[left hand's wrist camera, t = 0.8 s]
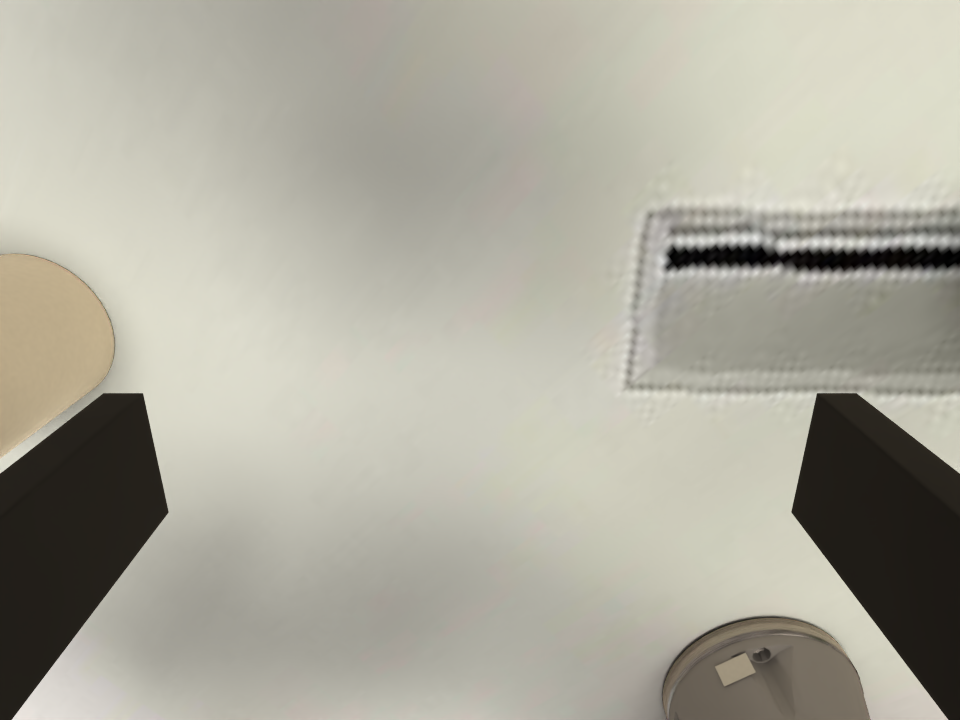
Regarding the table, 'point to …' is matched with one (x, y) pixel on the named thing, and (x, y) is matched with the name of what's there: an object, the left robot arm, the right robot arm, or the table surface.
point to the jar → (46, 344)
